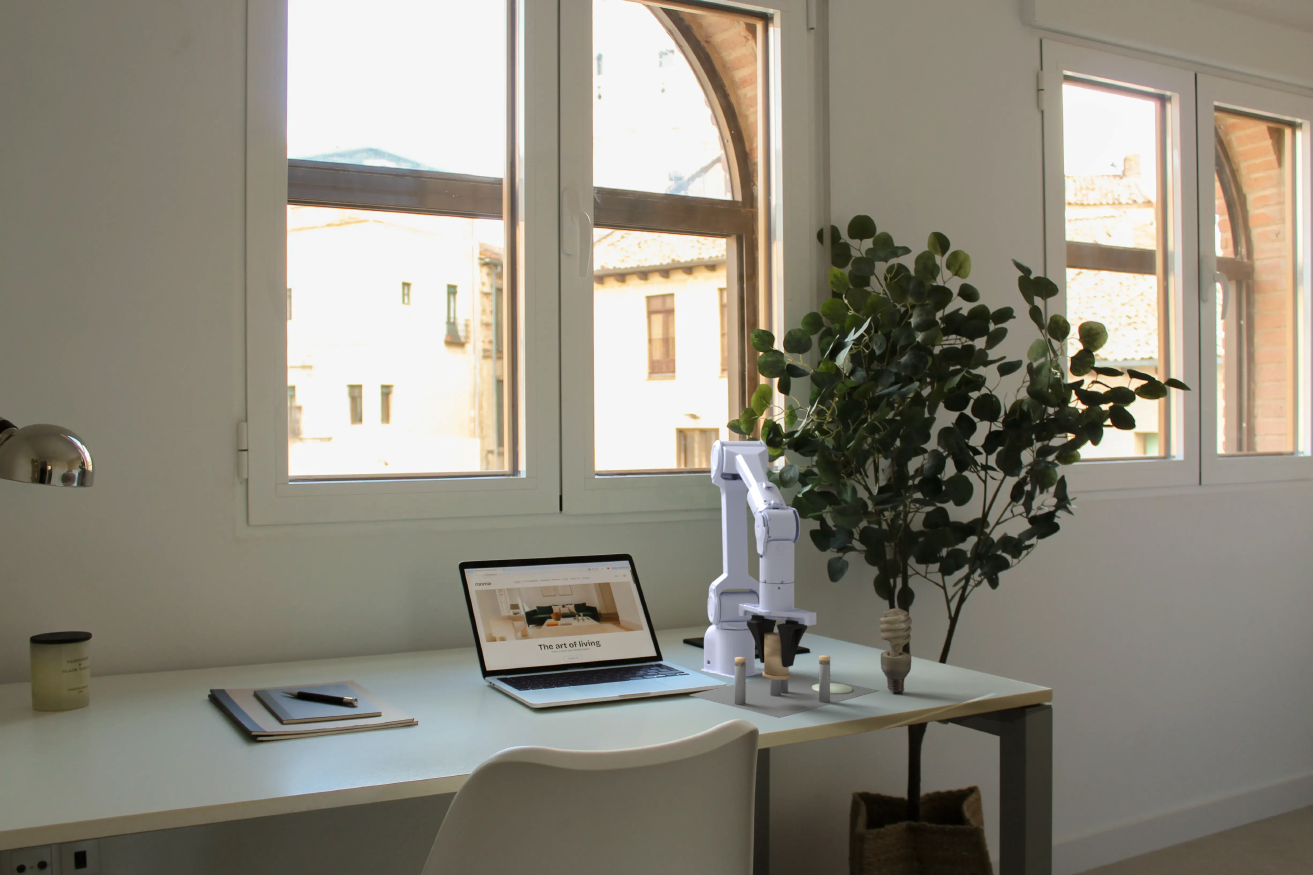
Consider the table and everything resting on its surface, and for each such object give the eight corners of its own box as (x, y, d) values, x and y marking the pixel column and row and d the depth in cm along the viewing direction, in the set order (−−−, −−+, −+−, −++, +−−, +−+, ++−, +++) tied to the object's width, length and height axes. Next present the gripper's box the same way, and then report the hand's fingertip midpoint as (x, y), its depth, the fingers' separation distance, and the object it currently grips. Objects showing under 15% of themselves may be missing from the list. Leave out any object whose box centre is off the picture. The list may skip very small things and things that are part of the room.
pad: (803, 688, 181) (803, 687, 181) (828, 682, 185) (828, 681, 185) (836, 696, 176) (836, 694, 176) (860, 689, 180) (860, 687, 180)
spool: (756, 676, 170) (756, 634, 170) (773, 672, 173) (773, 630, 174) (779, 681, 167) (779, 637, 167) (796, 676, 170) (796, 634, 170)
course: (688, 697, 176) (688, 650, 176) (789, 674, 194) (790, 632, 195) (779, 719, 161) (779, 669, 161) (879, 692, 180) (879, 647, 180)
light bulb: (912, 699, 175) (912, 611, 175) (879, 698, 176) (879, 610, 176) (911, 692, 180) (911, 606, 180) (879, 690, 181) (879, 605, 181)
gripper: (727, 579, 173) (727, 661, 172) (798, 588, 163) (798, 674, 162) (753, 576, 178) (753, 655, 177) (824, 584, 168) (823, 667, 167)
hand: (776, 664), depth 170 cm, fingers closed on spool, 4 cm apart
